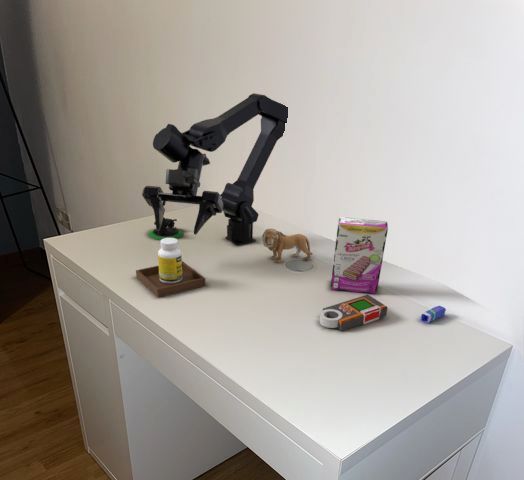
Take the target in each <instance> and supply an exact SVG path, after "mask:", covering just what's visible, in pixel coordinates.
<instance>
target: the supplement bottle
mask: <svg viewBox="0 0 524 480" xmlns="http://www.w3.org/2000/svg"><path fill="white" fill-rule="evenodd" d="M159 241H160V245H159V246H160V248H159V250H158V251H157V260H158V265H159V278H160V281H161V282H163V283H167V284H174V283H178V282H180V281H181V280H182V261H183V258H182V257H183V256H182V250H181V248H179V240H178V238H176V239H175V238H164V239H161V240H159Z"/></svg>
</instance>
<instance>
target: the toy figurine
mask: <svg viewBox="0 0 524 480" xmlns="http://www.w3.org/2000/svg"><path fill="white" fill-rule="evenodd" d="M176 222H178V220H177V219H176V218H174V219H172V218H168V217H167V218H166V217H165V216H163V221H162V225H161V228H160V230H159V231H158V230H157V229H156V228H154V229H152V230H150V231H149V232H148V236H149V237H150V238H151V239H154V240H159V241H161V239H164V238H175V239H180V238H181V237H182V236H184V232H183V231H182V230H181V229H179V228H177V227H176V226H175V224H176ZM153 225H154V226H156V222H155V221H154V222H153Z"/></svg>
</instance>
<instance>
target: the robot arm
mask: <svg viewBox="0 0 524 480" xmlns="http://www.w3.org/2000/svg"><path fill="white" fill-rule="evenodd" d="M281 103H282V102H278V101H276V100H274V99H272V98H270V97H268V96H267V95H265V94H261V93H255V92H254V93H251V94H249V95H248V96H247V98H245V99H243V100H242V101H240V102H239V103H237V104H235V105H234V106H233V107H231V108H229V109H228V110H226V111H224V112H223V113H221V114H220V115H218V116H216V117H213V118H209V119H203V120H201V121H198V122H196V123H193V124H192V125H191V126H190V127H189V129H188V130H185V131H183V132H181V131H180V130H179V129H178V127H177V126H176V125H174V124H172V123H167V125H166V126H165V127H164V128H162V129H160V131H158V133H156V134H155V135H154V137H153V140H152V147H153V149H154V150H155V151H157V153H159V154H161V155H162V156H163V157H165V158H166V159H167V160H168V161H170V162H171V163H174V164H175V163H178V165H177V169H170V168H166V172H165V173H166V174H165V184H166V185H168V189H169V191H172V192H164V190H163V189H162V188H161V186H155V185H146V186H144V187H143V189H142V192H141V196H142V198H143V199H144V201H145V203H147V205H148V206H150V207H151V208H152V210H153V214H154V222H156V225H155V229H157V230H158V231H159V230H160V228H161V225H162V221H163V217H165V212H166V208H165V206H166V203H167V202H169V203H179V204H180V203H181V204H188V205H189V204H191V205H198V213H197V217H196V220H195V224H194V227H193V234H194V235H197V234H198V233H199V232H200V230H202V228H203V227H204V226H205V224H206V223H207V222H208V221H209V220H210V219H211V217H213V216H214V217H215V216H217V214H221V213H223V215H224V217H225V218H228V219H227V222H228V223H227V225H226V236H225V240H226V241H228V242H230V243H232V244H233V245H235V246H242V245H247V244H251V243H255V242H256V239H255V238H254V237H253V236H254V223H257V221H258V219H259V215H260V214H259V212H257V211H256V209H255V208H254V207H253V204H254V201H255V196H254V193H255V192H254V189H255V187H256V185H257V182H258V181H259V179H260V177H261V175H262V172H263V171H264V168H265V166H266V165H267V163H268V160H269V159H270V157H271V154H272V152H273V150H274V149H275V146H276V144H277V142H278V141H279V140H280V139H281V138H282V137H284V136H283V133H284V131H285V123H287V118H288V107H286V106H285V105H283V104H284V103H283V104H281ZM256 116H260V117H261V118H260V132H259V135H258V136H257V138H256V141H255V143H254V145H253V147H252V149H251V151H250V153H249V156H248V157H247V159H246V161H245V163H244V165H243V167H242V170H241V172H240V174H239V175H238V177H237V179H236V180H235V181H234V182H233V183H230V182H227V183H226V184H225V185H224V188H223V191H222V192H221V194H220V193H219V191H212V190H211V191H210V190H203V191H202V193H201V195H197V194H198V190H199V188H200V187H201V182H200V181H201V176H202V170H203V167H204V166H208V165H211V161H210V158H209V157H207V154H206V153H202V152H201V151H200V150H203V151H206V152H210V153H213V152H215V151H217V150H218V149H219V148H220V147H221V146H222V145H223V144H224V143H225V142H226V140H227V137H228V136H229V135H230V134H231V133H232V132H234V131H235V130H237V129H239V128H240V127H242V126H243V125H245V124H246V123H248V122H249V121H251V120H252V119H254V118H255V117H256ZM193 147H194V148H193Z"/></svg>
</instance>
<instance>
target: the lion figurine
mask: <svg viewBox="0 0 524 480" xmlns="http://www.w3.org/2000/svg"><path fill="white" fill-rule="evenodd" d="M262 245H263V246H264V247H266V248H267V249H268V250H269V251H270V252H272V254H273V255H272V256H271V257H270V259H271V260H275V263H281V262H282V254H283V252H284V251H285V250H286V251H287V250H291V249H292V250H293V249H294V248H295V249H296V252H295V253H293V254H292V257H294V258H296V257H298V256H299V255H300V253H301V252H302V253H304V254H306V256H305V257H304V260H305V261H309V260H310V259H311V256H312V255H313V252H311V247H310V246H311V245H310V241H309V239H308V237H307V236H306V235H304V234H301V233H295V234H291V235H286V234H284V233H283V232H281V231H279V230H277V229H275V228H266V229H265V230H264V232H263V233H262ZM276 258H277V259H276Z"/></svg>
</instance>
